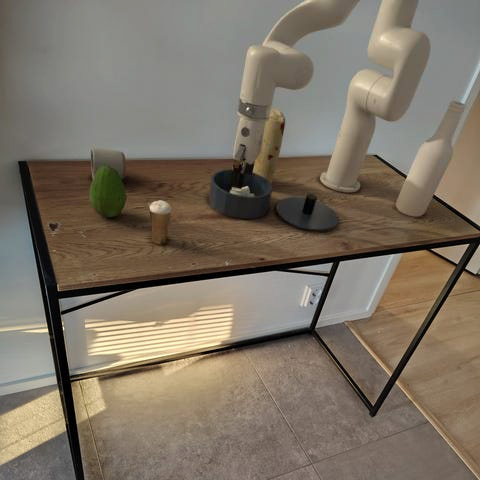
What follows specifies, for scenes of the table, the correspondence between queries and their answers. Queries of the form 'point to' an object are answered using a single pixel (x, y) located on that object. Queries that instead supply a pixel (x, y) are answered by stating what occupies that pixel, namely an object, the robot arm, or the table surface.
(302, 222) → the pot lid
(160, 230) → the milkshake
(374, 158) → the table surface
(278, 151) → the food model
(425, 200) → the alcohol
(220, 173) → the pot
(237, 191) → the whipped cream
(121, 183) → the avocado
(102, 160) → the ceramic mug
